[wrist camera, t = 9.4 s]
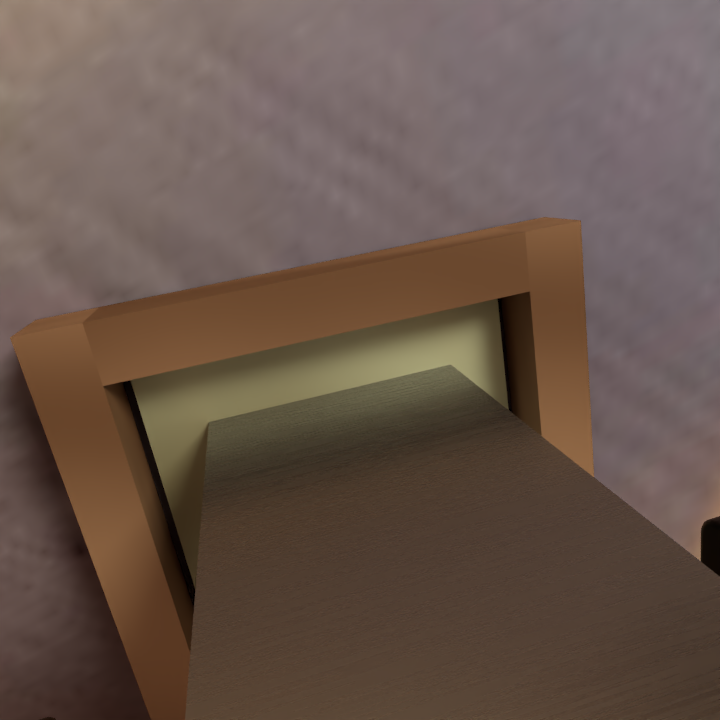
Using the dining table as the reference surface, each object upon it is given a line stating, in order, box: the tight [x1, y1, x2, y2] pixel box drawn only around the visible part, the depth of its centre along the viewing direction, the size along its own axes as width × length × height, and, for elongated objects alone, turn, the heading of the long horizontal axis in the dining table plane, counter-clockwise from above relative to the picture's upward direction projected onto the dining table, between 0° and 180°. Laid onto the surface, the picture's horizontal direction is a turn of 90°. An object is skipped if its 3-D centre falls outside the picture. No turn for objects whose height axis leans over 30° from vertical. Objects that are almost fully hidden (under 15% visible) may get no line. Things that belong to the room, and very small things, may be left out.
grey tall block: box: [185, 364, 720, 720], centre depth 7 cm, size 4×4×9 cm
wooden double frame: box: [10, 217, 594, 720], centre depth 13 cm, size 19×9×1 cm, turn 10°
